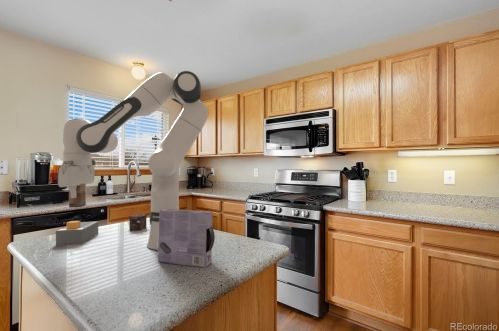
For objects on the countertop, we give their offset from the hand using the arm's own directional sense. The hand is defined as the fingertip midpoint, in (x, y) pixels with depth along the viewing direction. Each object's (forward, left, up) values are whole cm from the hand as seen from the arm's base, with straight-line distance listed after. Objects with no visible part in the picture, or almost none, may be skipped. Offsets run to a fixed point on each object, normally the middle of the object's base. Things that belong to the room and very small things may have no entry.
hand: (77, 197), depth 96 cm
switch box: (+8, -18, -21) cm, 29 cm away
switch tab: (+8, -13, -15) cm, 22 cm away
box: (-14, -31, -21) cm, 40 cm away
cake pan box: (-42, +20, -21) cm, 51 cm away
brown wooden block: (0, 0, -4) cm, 4 cm away
